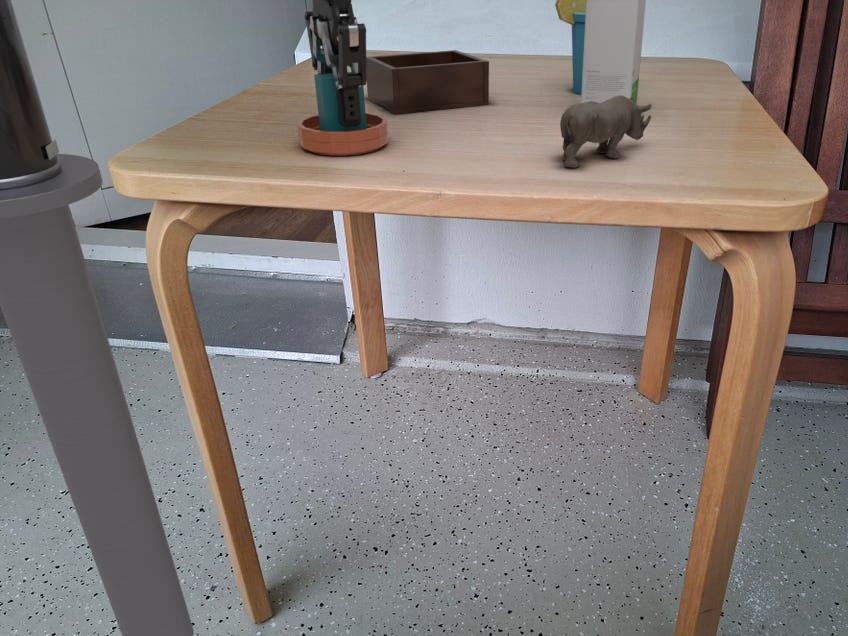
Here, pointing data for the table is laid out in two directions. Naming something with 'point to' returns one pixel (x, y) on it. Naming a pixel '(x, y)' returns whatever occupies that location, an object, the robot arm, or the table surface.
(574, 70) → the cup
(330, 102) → the tea packet
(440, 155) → the table surface
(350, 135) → the bowl
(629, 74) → the cosmetic box
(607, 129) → the rhino figurine
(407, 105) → the box
